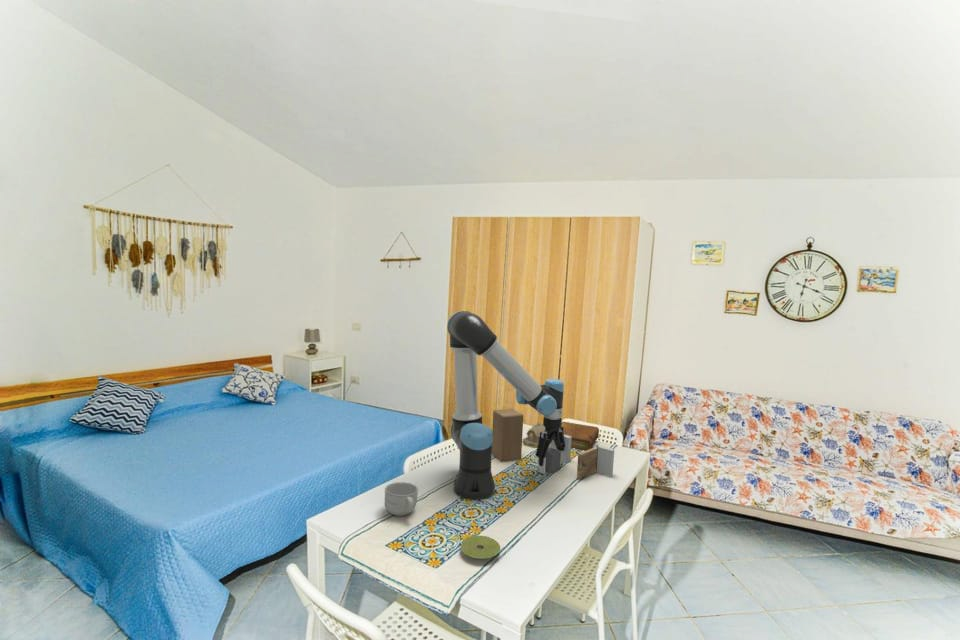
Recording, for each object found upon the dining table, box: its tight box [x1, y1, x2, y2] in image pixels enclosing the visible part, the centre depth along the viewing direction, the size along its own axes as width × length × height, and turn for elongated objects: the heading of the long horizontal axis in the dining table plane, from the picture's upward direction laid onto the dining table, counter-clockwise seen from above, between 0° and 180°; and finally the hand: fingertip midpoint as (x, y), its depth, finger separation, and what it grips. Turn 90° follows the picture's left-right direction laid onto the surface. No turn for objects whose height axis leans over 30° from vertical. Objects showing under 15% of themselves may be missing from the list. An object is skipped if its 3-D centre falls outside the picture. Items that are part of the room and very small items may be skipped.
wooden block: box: [491, 408, 524, 463], centre depth 202 cm, size 10×10×20 cm
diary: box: [561, 421, 600, 452], centre depth 227 cm, size 23×19×6 cm
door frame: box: [550, 435, 615, 478], centre depth 195 cm, size 2×29×11 cm, turn 47°
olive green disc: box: [460, 535, 501, 559], centre depth 130 cm, size 11×11×2 cm
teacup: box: [384, 481, 419, 517], centre depth 150 cm, size 14×11×8 cm
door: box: [576, 444, 599, 480], centre depth 186 cm, size 2×13×11 cm, turn 133°
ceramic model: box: [522, 422, 551, 448], centre depth 221 cm, size 14×11×10 cm
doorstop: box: [545, 446, 561, 474], centre depth 190 cm, size 6×6×8 cm
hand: (549, 469), depth 191 cm, fingers open, 11 cm apart
